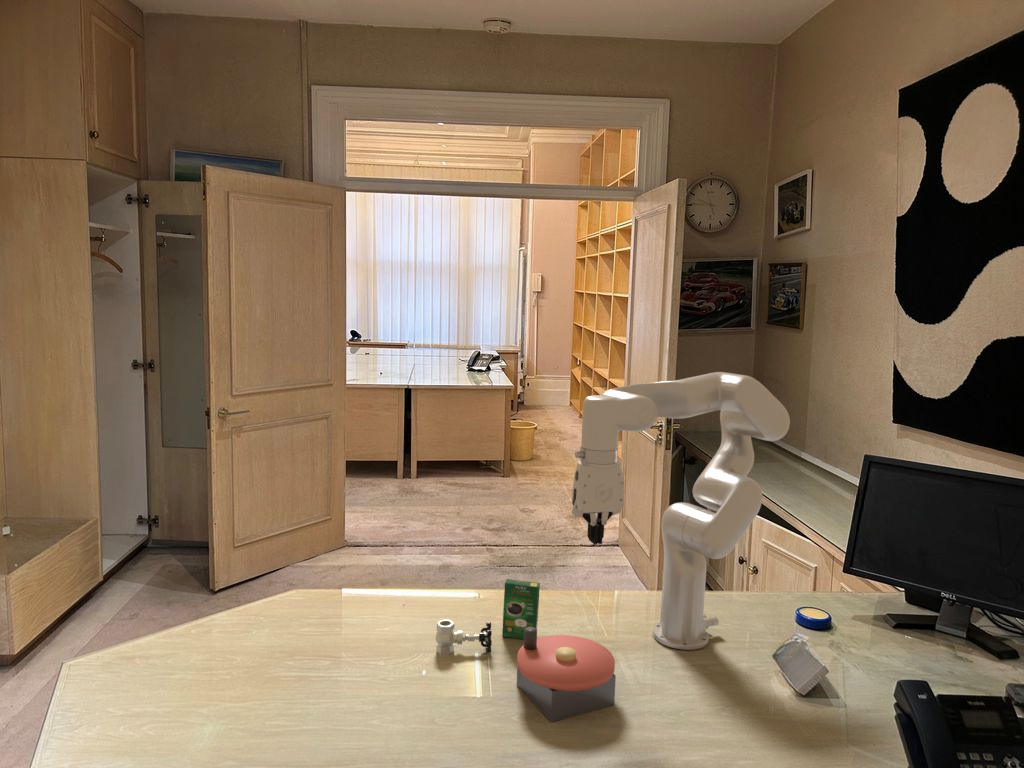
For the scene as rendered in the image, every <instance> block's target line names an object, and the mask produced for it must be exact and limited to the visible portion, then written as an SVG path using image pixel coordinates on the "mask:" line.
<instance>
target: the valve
mask: <svg viewBox="0 0 1024 768" xmlns="http://www.w3.org/2000/svg"><path fill="white" fill-rule="evenodd" d="M485 626H486V627H483V628H481V630H480V631H479V632H478V634H475V633H474V632H468V633H467V634H466V633H465V632H463V630H461V629H458V630H456V631H455V622H454V621H452V620H450V619H442V620H440V621H438V622H437V623H436V631H437V632H436V633H435V641H436V645H435V646H436V649H435V650H436V653H437V654H439V655H440V656H450V655H452V654H453V653H454V652H455V644H457V645H458V646H459V645H461V646H462V645H463V643H464V642H466V641H467V642H475V641H476V640H478V642H479V643H480V645H481V646H482V647H483V648H485V652H486V653H492V644H493V643H492V633H493V631H492V629H491V628H492V622H491V621H486V622H485Z"/></svg>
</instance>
